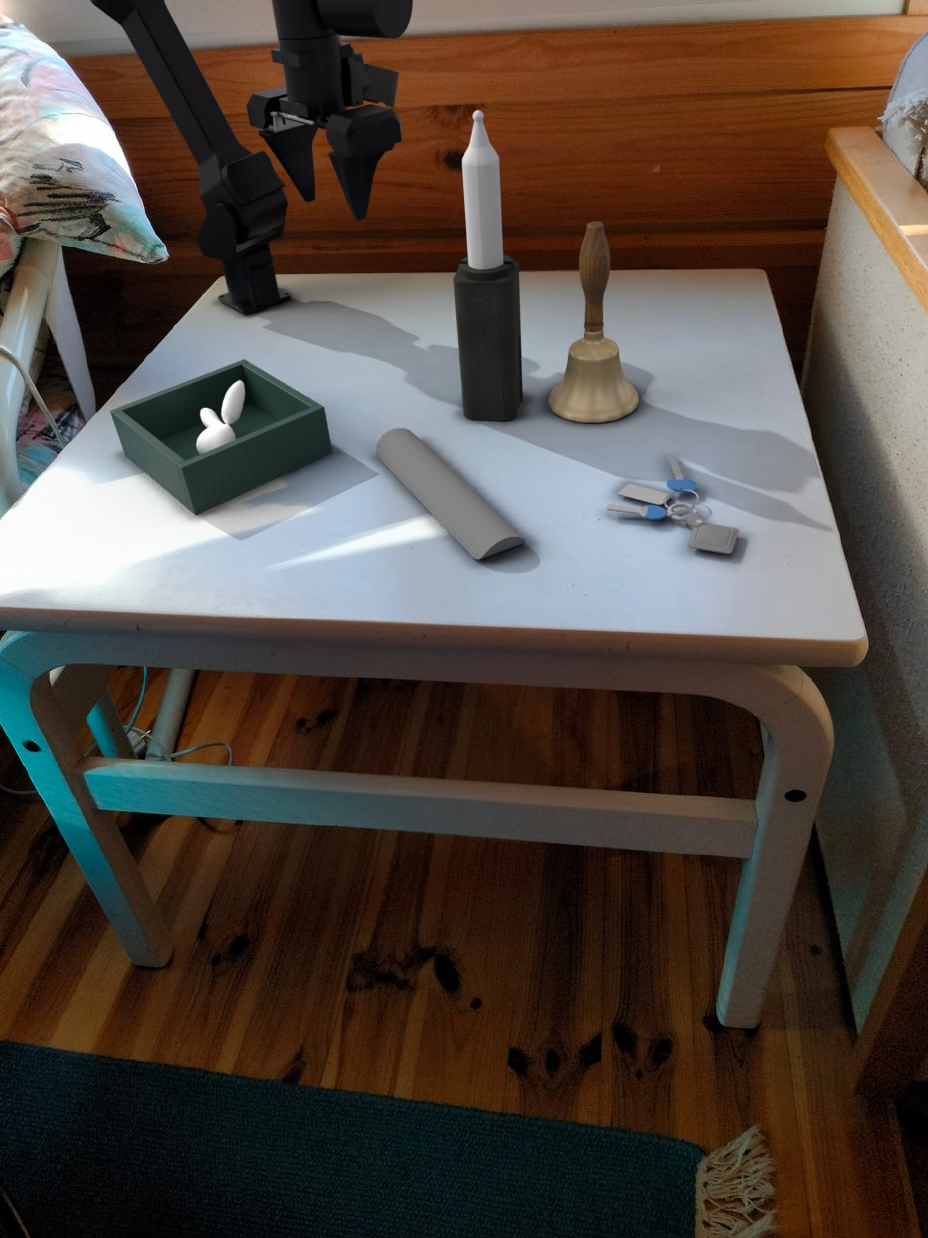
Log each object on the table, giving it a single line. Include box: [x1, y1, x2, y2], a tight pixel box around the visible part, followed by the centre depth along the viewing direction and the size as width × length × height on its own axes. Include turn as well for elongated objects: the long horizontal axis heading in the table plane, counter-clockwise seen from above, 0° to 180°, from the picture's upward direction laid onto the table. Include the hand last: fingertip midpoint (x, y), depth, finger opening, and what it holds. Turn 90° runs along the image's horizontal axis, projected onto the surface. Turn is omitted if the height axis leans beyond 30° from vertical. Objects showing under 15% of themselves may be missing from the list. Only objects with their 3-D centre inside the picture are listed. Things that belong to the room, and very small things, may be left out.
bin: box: [109, 358, 333, 516], centre depth 84 cm, size 14×14×4 cm
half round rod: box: [375, 427, 527, 560], centre depth 78 cm, size 4×20×2 cm, turn 28°
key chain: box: [605, 452, 740, 555], centre depth 74 cm, size 14×8×1 cm, turn 15°
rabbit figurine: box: [196, 380, 245, 455], centre depth 84 cm, size 6×4×8 cm
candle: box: [452, 109, 524, 422], centre depth 81 cm, size 5×5×25 cm
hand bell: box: [547, 221, 640, 424], centre depth 84 cm, size 8×8×16 cm
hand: (334, 209), depth 98 cm, fingers open, 9 cm apart
